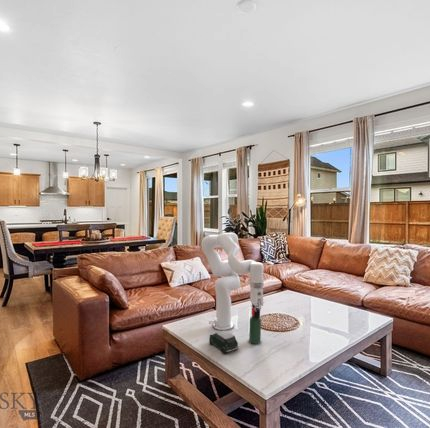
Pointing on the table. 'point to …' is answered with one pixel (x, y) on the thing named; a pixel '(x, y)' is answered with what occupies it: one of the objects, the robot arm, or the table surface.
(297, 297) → the table surface
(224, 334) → the miniature car
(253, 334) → the bottle
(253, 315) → the cap
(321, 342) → the table surface
